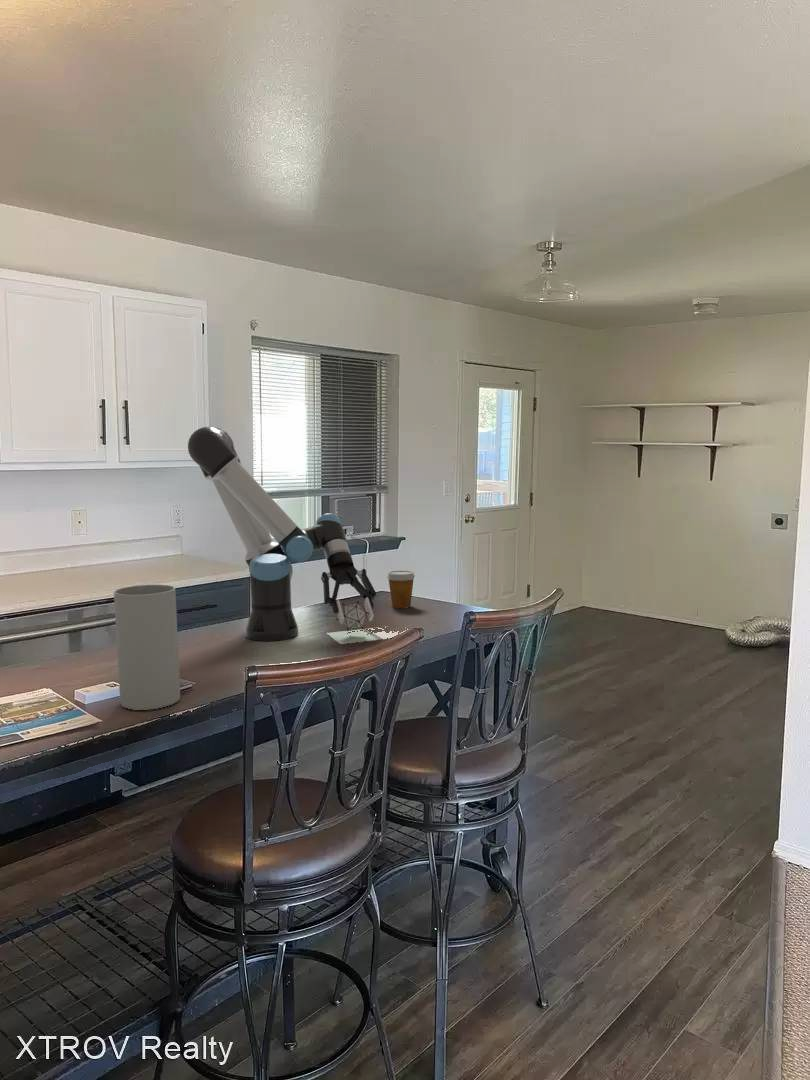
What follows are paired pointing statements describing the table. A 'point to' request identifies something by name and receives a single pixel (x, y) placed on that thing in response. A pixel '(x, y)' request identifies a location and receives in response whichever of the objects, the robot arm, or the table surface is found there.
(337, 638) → the game board
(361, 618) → the game die
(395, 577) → the disposable coffee cup
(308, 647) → the table surface
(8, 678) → the table surface
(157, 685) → the cylinder vase
